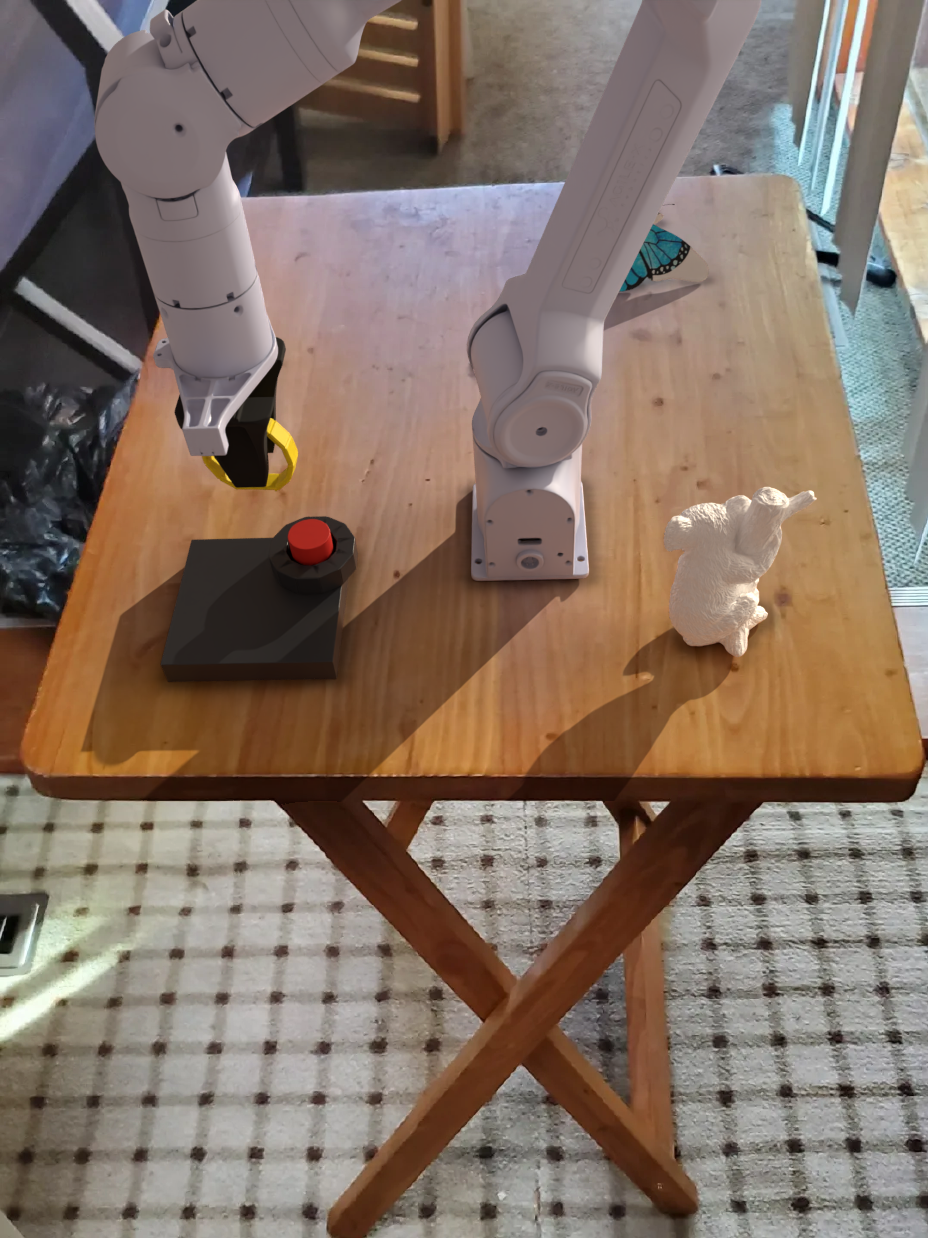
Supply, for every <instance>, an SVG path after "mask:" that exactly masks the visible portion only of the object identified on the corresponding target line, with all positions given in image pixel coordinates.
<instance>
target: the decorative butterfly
mask: <svg viewBox="0 0 928 1238" xmlns="http://www.w3.org/2000/svg"><path fill="white" fill-rule="evenodd" d="M668 205H672V206H675V203H667V204H666V206H668ZM663 206H664V204H663V205H662V207H663ZM664 216H665V215H664V214H663V213H661V212H659V213H658V215H657V217H656V219H655V221H654V223H653V225H652V227H651V229H650V231H649V233H648V235H647V237H646V239H645V241H644V243H643V245H642V247H641V249H640V251H639V253H638V255H637V257H636V259H635V261H634V263H633V265H632V267H631V269H630V271H629V273H628V275H627V277H626V279H625V281H624V283H623V285H622V287H621V288H620V290H619V292H618V293H620V292H626V291H630V290H631V291H632V290H634V289H636V288H638V287H639V286H640V285H641V284H642V283H643V282H644V281H645V280H646V278H647V279H648V280H649V281H652V282H655V283H656V282H662V281H665V280H681V281H685V282H692V283H702V282H704V281H706V280H707V278H708V277H709V275H710V268H709V265H708V263H707V261H706V259H705V258H703V257H702V255H700V254H699V253H698V252H697V251H696V250H695V249H694V248H693V247H692V246H691V245H690V244H688V242H686V241H685V240H683V238H681V237H679V236H678V235H676V234H674V233H672V232H670V231H669V230H665V229H664V228H662V227H659V226H658V225H656V224H658V223H659V222H661V221H662V220H663V219H664Z"/></svg>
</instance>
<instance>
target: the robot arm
mask: <svg viewBox="0 0 928 1238" xmlns="http://www.w3.org/2000/svg"><path fill="white" fill-rule="evenodd" d="M401 1H402V0H195V1H194V2H192V3H191V4H190V5H188V6H187V7H186V8H184V9H183V10H182V11H180V12H179V13H177V14H176V15H175V16H174V15H172V13H171V12H170V11H169V10H168V9H163V10H162V11H160V12H159V13H158V14H156V15H155V16H154V17H152V18H151V19H150V22H149V32H148V31H147V29H141V30H138V31H135V32H131V33H129V34H127V35H126V36H124V37H122V38H121V39H120V40H118V41H117V42H116V43H115V44H114V45H113V46H112V48H111V49H109V51H108V52H107V55H106V56H105V58H104V62H103V66H102V67H101V72H100V79H99V86H98V92H97V98H96V104H95V105H96V106H95V111H94V121H93V123H94V125H93V126H94V134H95V135H94V136H95V143H96V148H97V151H98V153H99V155H100V158H101V159H102V161H103V163H104V165H105V166H106V168H107V170H108V171H110V173H111V174H112V175H113V176H114V177H115V178H116V179H117V180H118V181H119V182H120V185H121V187H122V190H123V192H124V194H125V197H126V200H127V203H128V215H129V216H128V217H129V219H130V222H131V225H132V228H133V231H134V235H135V237H136V241H137V245H138V247H139V251H140V254H141V257H142V260H143V263H144V267H145V270H146V273H147V276H148V279H149V283H150V286H151V289H152V292H153V296H154V299H155V301H156V306H157V309H158V311H159V314H160V318H161V320H162V323H163V327H164V330H165V334H166V337H164V338H161V339H159V340H158V342H157V343H156V346H155V348H154V351H153V355H152V358H153V361H154V363H155V366H156V367H157V368H160V369H171V370H172V371H173V373H174V377H175V381H176V382H175V383H176V385H177V389H178V392H179V393H178V394H179V395H178V398H177V400H176V403H175V404H176V405H175V408H174V411H173V412H174V416H175V418H176V422H177V424H178V427H179V428H180V429H181V431H182V434H183V437H184V440H185V443H186V446H187V449H188V452H189V455H190V457H202V456H214V458H215V459H216V460H217V462H218V463H219V465H220V466H221V467H222V469H223V470H224V472H225V473H226V475H227V476H228V478H229V479H230V481H231V482H232V483H233V485H234V486H235V487H236V488H248V487H265V486H266V485H267V480H268V474H270V463H269V460H270V459H269V454H274V452H275V446H276V444H275V443H274V442H273V441H272V440H271V439H269V438H268V437H267V427H268V424H269V421H270V418H272V419H274V421H277V388H278V380H279V376H280V373H281V370H282V368H283V365H284V361H285V356H286V351H287V348H286V343H285V341H284V340H283V339H282V338H280V337H278V336H276V334H275V331H274V328H273V326H272V323H271V320H270V318H269V314H268V311H267V308H266V302H265V301H266V300H265V296H264V292H263V289H262V284H261V280H260V276H259V272H258V268H257V264H256V260H255V255H254V250H253V246H252V242H251V238H250V237H251V236H250V232H249V229H248V224H247V220H246V215H245V211H244V207H243V202H242V197H241V193H240V191H239V189H238V186H237V185H236V183H235V181H234V180H233V179H234V178H233V176H232V172H231V167H230V163H229V159H228V154H227V149H228V146H229V145H230V143H232V142H233V141H234V140H235V139H238V138H242V137H244V136H246V135H248V134H250V133H252V132H253V131H254V130H256V129H257V128H259V127H260V126H262V125H263V124H265V123H266V122H268V121H270V120H271V119H273V118H274V117H276V116H277V115H279V114H280V113H281V112H283V111H285V110H286V109H287V108H289V107H290V106H292V105H294V104H295V103H297V102H298V101H300V100H301V99H303V98H304V97H306V96H307V95H309V94H310V93H312V92H313V91H315V90H316V89H318V88H319V87H321V86H323V85H325V83H327V82H328V81H331V79H333V78H335V77H336V76H338V75H339V74H340V73H343V72H344V71H345V70H347V69H349V68H350V67H351V66H353V65H354V64H355V63H356V61H357V59H358V56H359V50H360V44H361V39H362V35H363V32H364V29H365V26H366V24H367V22H368V21H369V20H371V19H372V18H374V17H376V16H378V15H379V14H381V13H383V12H384V11H386V10H388V9H390V8H392V7H393V6H395V5H396V4H398V3H400V2H401ZM761 6H762V0H641V3H640V5H639V8H638V11H637V13H636V15H635V17H634V20H633V22H632V24H631V27H630V30H629V31H628V34H627V37H626V39H625V41H624V44H623V45H622V48H621V50H620V51H619V55H618V57H617V59H616V62H615V64H614V66H613V68H612V71H611V74H610V76H609V78H608V81H607V83H606V85H605V88H604V90H603V92H602V94H601V97H600V100H599V102H598V104H597V106H596V109H595V111H594V113H593V116H592V118H591V120H590V123H589V125H588V128H587V130H586V132H585V134H584V137H583V140H582V141H581V144H580V146H579V149H578V150H577V153H576V155H575V158H574V160H573V163H572V165H571V167H570V169H569V172H568V174H567V176H566V178H565V181H564V184H563V186H562V188H561V191H560V193H559V195H558V197H557V200H556V203H555V204H554V207H553V209H552V212H551V214H550V216H549V217H548V221H547V223H546V225H545V228H544V230H543V232H542V235H541V237H540V239H539V242H538V244H537V246H536V248H535V251H534V254H533V256H532V258H531V259H530V260H531V261H530V263H529V265H528V268H527V270H526V272H525V273H523V274H520V275H516V276H515V275H514V276H513V277H510V278H508V279H506V281H505V282H504V285H503V288H502V290H501V292H500V294H499V297H498V298H497V300H496V301H495V302H494V303H493V304H492V305H491V307H490V308H488V309H487V310H486V311H485V312H484V313H483V314H482V315H480V316H479V317H478V318H477V320H476V321H475V322H474V324H473V325H472V327H471V328H470V331H469V333H468V335H467V341H466V355H467V359H468V361H469V364H470V367H471V369H472V370H473V372H474V375H475V380H476V384H477V387H478V391H479V394H480V395H479V396H480V399H479V401H478V403H477V405H476V408H475V410H474V413H473V416H472V419H471V431H472V434H471V435H472V446H473V447H472V448H473V464H474V465H473V466H474V481H475V483H473V486H472V507H471V557H470V558H471V562H470V563H471V564H470V566H471V567H470V575H471V579H472V580H474V581H477V582H486V581H489V582H490V581H531V580H532V581H533V580H534V581H536V580H537V581H539V580H575V579H576V580H577V579H578V580H579V579H580V580H582V579H586V578H587V577H589V574H590V566H589V552H588V540H587V526H586V525H587V523H586V514H585V513H586V512H585V499H584V487H583V485H584V484H583V482H582V458H583V444H584V442H585V440H586V439H587V437H588V435H589V433H590V430H591V426H592V402H593V397H594V395H595V393H596V390H597V388H598V386H599V384H600V382H601V380H602V372H603V354H604V353H603V351H604V328H605V321H606V318H607V317H608V314H609V312H610V311H611V308H612V307H613V304H614V302H615V300H616V299H617V296H618V294H619V293H620V292H619V290H620V288H621V287H622V285H623V283H624V281H625V279H626V277H627V275H628V273H629V271H630V269H631V267H632V265H633V263H634V261H635V259H636V257H637V255H638V253H639V251H640V249H641V247H642V245H643V243H644V241H645V239H646V237H647V235H648V233H649V231H650V229H651V227H652V225H653V223H654V221H655V219H656V217H657V215H658V213H660V211H661V209H662V207H663V206H664V204H665V201H666V199H667V197H668V196H669V194H670V193H669V192H670V191H671V189H672V187H673V186H674V184H675V181H676V180H677V178H678V175H679V173H680V171H681V169H682V167H683V165H684V163H685V161H686V159H687V157H688V156H689V154H690V151H691V149H692V147H693V146H694V143H695V142H696V139H697V138H698V135H699V134H700V131H701V129H702V128H703V125H704V123H705V122H706V120H707V118H708V115H709V114H710V111H711V109H712V108H713V106H714V104H715V102H716V100H717V98H718V96H719V94H720V92H721V90H722V88H723V86H724V84H725V82H726V80H727V78H728V76H729V74H730V72H731V70H732V68H733V66H734V64H735V63H736V60H737V58H738V56H739V54H740V52H741V50H742V49H743V47H744V44H745V42H746V41H747V38H748V36H749V34H750V32H751V30H752V28H753V26H754V24H755V22H756V19H757V17H758V14H759V11H760V8H761ZM662 205H663V206H662Z"/></svg>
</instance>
